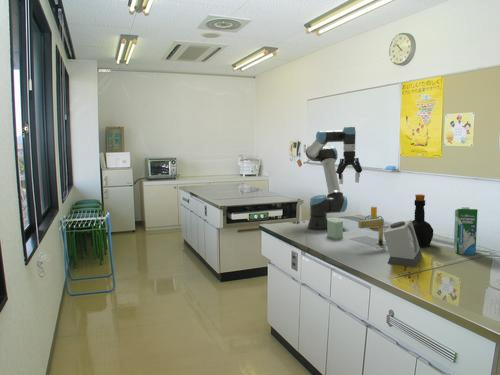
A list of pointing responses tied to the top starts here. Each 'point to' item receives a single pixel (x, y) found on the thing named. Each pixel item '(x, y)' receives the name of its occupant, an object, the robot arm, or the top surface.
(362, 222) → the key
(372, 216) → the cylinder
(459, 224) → the milk carton
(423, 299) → the top surface
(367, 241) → the plate
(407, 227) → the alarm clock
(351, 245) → the top surface
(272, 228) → the top surface
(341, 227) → the pale green block
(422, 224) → the bottle
